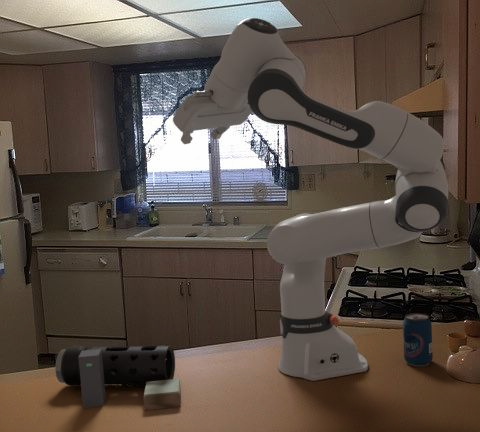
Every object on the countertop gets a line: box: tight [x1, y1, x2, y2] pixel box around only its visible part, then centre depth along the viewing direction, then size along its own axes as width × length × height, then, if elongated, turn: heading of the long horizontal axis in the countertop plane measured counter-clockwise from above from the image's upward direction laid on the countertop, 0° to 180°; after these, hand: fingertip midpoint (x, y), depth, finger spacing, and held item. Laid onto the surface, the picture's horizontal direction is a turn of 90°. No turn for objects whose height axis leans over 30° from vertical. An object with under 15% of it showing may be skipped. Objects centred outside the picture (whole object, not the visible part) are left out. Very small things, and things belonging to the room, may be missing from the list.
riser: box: [143, 378, 182, 411], centre depth 133 cm, size 8×8×4 cm
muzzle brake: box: [54, 345, 176, 388], centre depth 144 cm, size 10×28×10 cm, turn 82°
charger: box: [78, 349, 107, 409], centre depth 134 cm, size 4×5×12 cm
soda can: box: [402, 312, 434, 367], centre depth 146 cm, size 7×7×12 cm
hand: (200, 139), depth 130 cm, fingers open, 8 cm apart
